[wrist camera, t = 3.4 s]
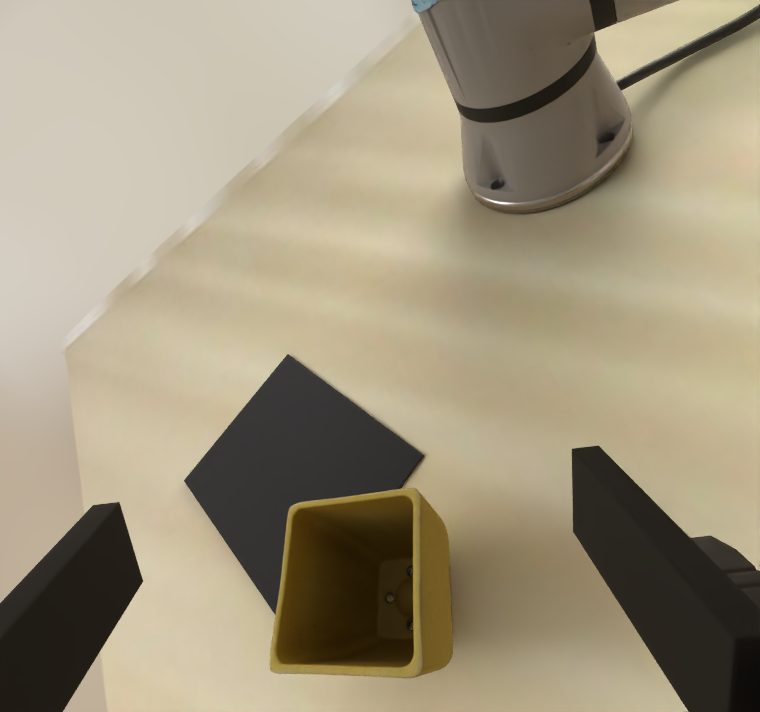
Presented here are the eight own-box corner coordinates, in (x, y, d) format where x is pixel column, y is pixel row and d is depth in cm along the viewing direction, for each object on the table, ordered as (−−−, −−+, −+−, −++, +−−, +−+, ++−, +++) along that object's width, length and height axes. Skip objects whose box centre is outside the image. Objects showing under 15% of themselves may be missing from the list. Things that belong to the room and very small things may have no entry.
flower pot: (483, 682, 29) (420, 679, 22) (353, 677, 32) (265, 672, 26) (473, 526, 34) (418, 485, 27) (360, 536, 37) (288, 502, 31)
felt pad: (424, 455, 38) (423, 455, 38) (290, 635, 36) (288, 634, 36) (288, 355, 51) (287, 354, 51) (185, 481, 49) (183, 480, 49)
